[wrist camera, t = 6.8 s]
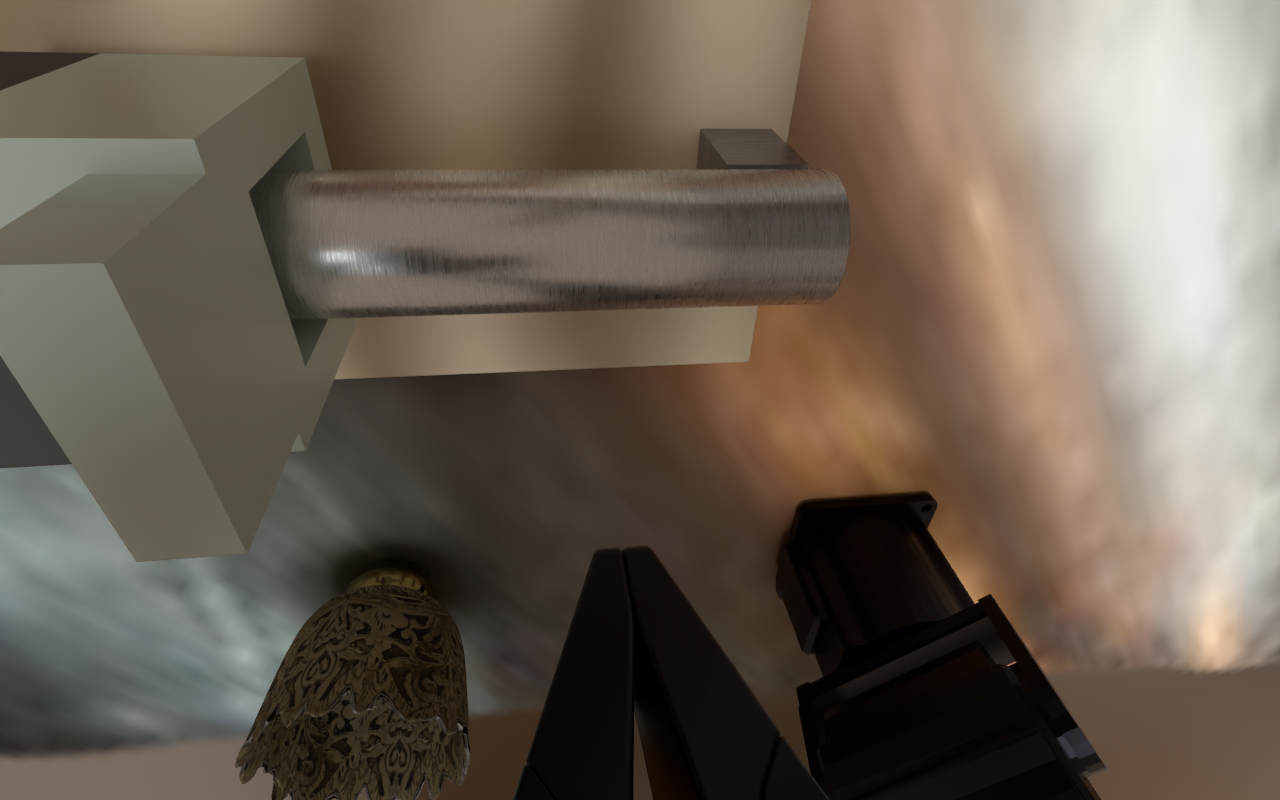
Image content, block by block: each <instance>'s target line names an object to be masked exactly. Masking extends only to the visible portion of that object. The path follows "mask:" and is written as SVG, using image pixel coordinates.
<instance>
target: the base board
mask: <svg viewBox="0 0 1280 800" xmlns="http://www.w3.org/2000/svg"><path fill="white" fill-rule="evenodd" d="M811 1H812V0H0V51H8V52H57V53H105V54H153V55H202V56H250V57H299V58H305V60H306V64H307V68H308V72H309V76H310V80H311V85H312V89H313V93H314V97H315V101H316V105H317V109H318V114H319V118H320V122H321V126H322V130H323V134H324V138H325V143H326V147H327V151H328V155H329V159H330V163H331V167H332V170H696V168H697V157H698V146H699V136H700V129H772V130H773V131H774V132H775V133H776V134H777V135H778V136H779V137H780V138H781V139H783V140H784V141H785V142H786V143H787V139H788V133H789V127H790V121H791V116H792V110H793V104H794V98H795V93H796V87H797V81H798V75H799V70H800V64H801V58H802V52H803V47H804V41H805V35H806V30H807V24H808V18H809V12H810V7H811ZM757 311H758V306H735V307H702V308H669V309H636V310H603V311H571V312H538V313H505V314H472V315H440V316H407V317H374V318H358V321H357V323H356V326H355V328H354V331H353V333H352V336H351V338H350V341H349V343H348V346H347V348H346V351H345V353H344V356H343V358H342V361H341V363H340V366H339V368H338V371H337V373H336V376H335V378H334V379H355V378H379V377H402V376H426V375H449V374H473V373H497V372H520V371H544V370H567V369H591V368H614V367H638V366H662V365H685V364H709V363H732V362H749V357H750V351H751V345H752V340H753V334H754V328H755V322H756V317H757Z"/></svg>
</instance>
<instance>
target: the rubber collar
mask: <svg viewBox="0 0 1280 800" xmlns="http://www.w3.org/2000/svg"><path fill="white" fill-rule="evenodd" d="M98 54H100V53H57V52H8V51H0V90H3V89H6V88H8V87H11V86H14V85H17V84H19V83H22V82H25V81H27V80H30V79H33V78H36V77H38V76H41V75H44V74H46V73H49V72H52V71H54V70H57V69H60V68H63V67H65V66H68V65H71V64H73V63H76V62H79V61H82V60H84V59H87V58H90V57H92V56H95V55H98ZM65 464H72V463H71V462H70V460H69V459H68V457H67V456H66V454H65V453H64V451H63V450H62V448H61V447H60V445H59V444H58V442H57V441H56V439H55V438H54V436H53V435H52V433H51V432H50V430H49V429H48V427H47V426H46V424H45V423H44V421H43V419H42V418H41V416H40V415H39V413H38V412H37V410H36V409H35V407H34V406H33V404H32V403H31V401H30V400H29V398H28V397H27V395H26V394H25V392H24V391H23V389H22V388H21V386H20V385H19V383H18V382H17V380H16V379H15V377H14V376H13V374H12V373H11V371H10V370H9V368H8V367H7V365H6V363H5V362H4V360H3V359H2V357H1V356H0V468H12V467H30V466H47V465H65Z"/></svg>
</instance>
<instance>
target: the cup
mask: <svg viewBox="0 0 1280 800" xmlns="http://www.w3.org/2000/svg"><path fill="white" fill-rule="evenodd" d="M436 598H437V593H436V589H435V586H434V583H433V581H432V579H431V577H430V576H429V575H428V574H427V572H425V571H424V570H423V569H421V568H420V567H418V566H416V565H414V564H411V563H407V562H403V561H381V562H377V563H373V564H371V565H368V566H366V567H364V568H363V569H361V570H360V571H359V572H358V573H357V574H356V575H355V576H354V577H353V578H352V580H351V581H350V582H349V583H348V585H347V587H346V590H345V593H343V594H341V595H339V596H337V597H335V598H333V599H331V600H330V601H328V602H327V603H325V604H324V605H323V606H321V607H320V608H319V609H318V610H317V611H316V612H315V613H314V614H313V615H312V616H311V617H310V618H309V619H308V620H307V621H306V623H305V624H304V625H303V627H302V628H301V629H300V631H299V632H298V634H297V635H296V637H295V639H294V641H293V642H292V644H291V646H290V648H289V650H288V651H287V653H286V655H285V657H284V659H283V661H282V663H281V665H280V667H279V669H278V671H277V673H276V676H275V678H274V680H273V682H272V684H271V686H270V688H269V691H268V693H267V695H266V697H265V699H264V702H263V704H262V706H261V708H260V710H259V713H258V715H257V717H256V719H255V722H254V724H253V726H252V728H251V731H250V733H249V735H248V737H247V739H246V741H245V743H244V745H243V747H242V749H241V750H240V752H239V755H238V757H237V760H236V764H235V765H236V768H239V767H241V766H242V768H241V771H240V780H241V782H242V784H245V783H246V782H248V781H249V780H250V779H251V778H253V777H254V775H255V773H256V771H257V769H258V768H259V767H260V766H262V767H263V773H271V772H272V773H273V774H272V773H271V774H272V775H273V782H274V785H273V791H272V800H283V799H284V798H285V797H286V796H287V794H288V793H289V795H290V799H291V800H326V799H327V798H329V797H331V796H333V797H331V798H329V799H327V800H331V799H333V798H336V799H337V800H357V799H358V796H359V795H360V793H361V792H362V790H363V788H366V794H367V797H368V800H397V799H398V800H416V799H417V797H418V795H419V793H420V792H421V789H422V787H423V784H424V781H425V779H426V780H427V783H428V789H429V794H430V796H429V797H430V798H432V799H436V798H437V797H438V796H439V795H440V793H441V791H442V787H443V782H444V778H445V776H447V777H448V778H449V780H450V781H452V782H453V783H455V784H457V785H462V783H463V782H464V779H465V776H466V772H467V765H468V764H470V763H471V752H470V745H469V725H468V702H467V682H466V667H465V657H464V650H463V645H462V640H461V636H460V633H459V630H458V628H457V626H456V623H455V621H454V620H453V618H452V617H451V615H450V614H449V612H448V611H447V610H446V609H445V608H444V607H443V606H442V605H441V604H440V603H439V602H437V601H436ZM261 764H262V765H261ZM270 771H271V772H270ZM446 774H447V775H446ZM334 795H336V796H337V797H336V796H334ZM396 798H397V799H396Z"/></svg>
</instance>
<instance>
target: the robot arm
mask: <svg viewBox="0 0 1280 800" xmlns="http://www.w3.org/2000/svg"><path fill="white" fill-rule="evenodd" d="M936 508H937V503H936V501H935V500H934V498H933V497H932V496H931V495H930V494H922V495H908V496H894V497H881V498H867V499H854V500H840V501H826V502H813V503H806V504H804V505H802V506H801V507H799V508H798V510H797V513H796V517H795V520H794V524H793V527H792V531H791V535H790V538H789V542H788V543H787V544H786V545H785V547H784V550H783V554H782V558H781V561H780V565H779V569H778V572H777V576H776V581H777V586H776V591H777V594H778V597H779V598H780V599H782V600H784V603H785V606H786V608H787V611H788V614H789V617H790V619H791V622H792V625H793V628H794V630H795V633H796V636H797V639H798V641H799V644H800V647H801V650H802V651H803V652H804V653H805V654H806V655H808V656H810V655H815V656H816V659H817V662H818V664H819V667H820V670H821V672H822V675H823V677H822V678H820V679H818V680H816V681H814V682H812V683H809V682H806V683H804V684H802V685H800V686H798V687H797V688H796V690H797V695H798V700H799V706H800V707H799V714H800V719H801V724H802V730H803V735H804V741H805V746H806V751H807V756H808V762H809V767H810V772H811V774H810V772H809V771H808V770H807V768H806V767H805V766H804V764H803V763H802V761H801V760H800V759H799V757H798V756H797V754H796V753H795V752H794V750H793V749H792V747H791V746H790V745H789V743H788V742H787V740H786V739H785V737H783V736H781V737H779V736H780V731H779V729H778V728H777V726H776V725H775V723H774V722H773V721H772V719H771V718H770V716H769V715H768V714H767V712H766V711H765V709H764V708H763V707H762V705H761V704H760V702H759V701H758V699H757V698H756V696H755V695H754V694H753V692H752V691H751V689H750V688H749V686H748V685H747V684H746V682H745V681H744V679H743V678H742V676H741V675H740V674H739V672H738V671H737V669H736V668H735V667H734V665H733V664H732V662H731V661H730V659H729V658H728V657H727V655H726V654H725V652H724V651H723V649H722V648H721V647H720V645H719V644H718V642H717V641H716V639H715V638H714V637H713V635H712V634H711V632H710V631H709V630H708V628H707V627H706V625H705V624H704V622H703V621H702V620H701V618H700V617H699V615H698V614H697V612H696V611H695V610H694V608H693V607H692V605H691V604H690V602H689V601H688V600H687V598H686V597H685V595H684V594H683V592H682V591H681V590H680V588H679V587H678V585H677V584H676V583H675V581H674V580H673V578H672V577H671V575H670V574H669V573H668V571H667V570H666V568H665V567H664V565H663V564H662V563H661V561H660V560H659V558H658V557H657V555H656V554H655V553H654V551H653V550H652V549H651V548H650V547H648V546H635V547H626V548H625V549H624V550H623V552H622V550H621V549H620V548H607V549H598V550H596V551H595V553H594V555H593V558H592V561H591V564H590V567H589V570H588V573H587V576H586V579H585V582H584V585H583V588H582V591H581V594H580V598H579V601H578V604H577V607H576V610H575V613H574V616H573V619H572V622H571V625H570V628H569V631H568V634H567V637H566V640H565V644H564V647H563V650H562V653H561V656H560V659H559V662H558V665H557V668H556V671H555V674H554V677H553V680H552V683H551V686H550V690H549V693H548V696H547V699H546V702H545V705H544V708H543V711H542V714H541V717H540V720H539V724H538V726H537V729H536V732H535V736H534V739H533V742H532V745H531V748H530V751H529V754H528V757H527V760H526V762H527V765H526V766H524V768H523V771H522V774H521V778H520V781H519V784H518V787H517V790H516V793H515V796H514V798H513V800H633V754H634V753H633V750H634V749H633V748H634V713H635V718H636V722H637V727H638V732H639V737H640V741H641V746H642V750H643V755H644V760H645V765H646V770H647V775H648V779H649V784H650V789H651V793H652V798H653V800H1101V798H1100V797H1099V795H1098V794H1097V792H1096V791H1095V789H1094V787H1093V786H1092V784H1091V783H1090V781H1089V780H1088V778H1087V777H1088V776H1091V775H1094V774H1096V773H1099V772H1101V771H1104V770H1106V769H1107V768H1106V766H1105V765H1104V763H1103V762H1102V760H1101V759H1100V757H1099V756H1098V754H1097V753H1096V751H1095V750H1094V748H1093V746H1092V745H1091V743H1090V742H1089V740H1088V739H1087V737H1086V736H1085V734H1084V733H1083V731H1082V730H1081V728H1080V726H1079V725H1078V723H1077V722H1076V720H1075V719H1074V717H1073V716H1072V714H1071V713H1070V711H1069V710H1068V708H1067V706H1066V705H1065V704H1064V702H1063V700H1062V699H1061V697H1060V696H1059V694H1058V693H1057V691H1056V690H1055V688H1054V687H1053V685H1052V684H1051V682H1050V681H1049V679H1048V678H1047V676H1046V675H1045V673H1044V672H1043V670H1042V669H1041V667H1040V666H1039V664H1038V663H1037V661H1036V660H1035V658H1034V657H1033V655H1032V654H1031V652H1030V651H1029V649H1028V648H1027V646H1026V645H1025V643H1024V642H1023V640H1022V639H1021V637H1020V636H1019V635H1018V633H1017V632H1016V630H1015V629H1014V627H1013V626H1012V624H1011V623H1010V621H1009V620H1008V619H1007V617H1006V616H1005V614H1004V613H1003V611H1002V610H1001V608H1000V607H999V606H998V604H997V603H996V601H995V600H994V598H993V597H992V595H991V594H989V595H987V596H985V597H983V598H981V599H979V600H978V601H979V602H978V603H976V604H975V603H974V602H973V600H972V599H971V597H970V596H969V594H968V592H967V591H966V589H965V588H964V586H963V584H962V583H961V581H960V580H959V578H958V577H957V575H956V573H955V572H954V570H953V569H952V567H951V566H950V564H949V562H948V561H947V559H946V558H945V556H944V554H943V553H942V551H941V550H940V548H939V547H938V545H937V543H936V542H935V540H934V539H933V537H932V536H931V534H930V532H929V531H928V529H927V528H928V526H929V524H930V521H931V519H932V517H933V515H934V513H935V511H936ZM1015 661H1016V663H1015V664H1013V665H1010V666H1006V665H1008V664H1010V663H1013V662H1015Z"/></svg>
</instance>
